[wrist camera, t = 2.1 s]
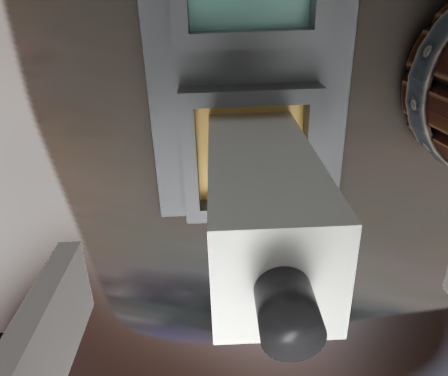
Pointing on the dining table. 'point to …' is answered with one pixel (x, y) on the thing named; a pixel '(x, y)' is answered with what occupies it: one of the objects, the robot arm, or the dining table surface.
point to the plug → (276, 238)
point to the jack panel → (241, 80)
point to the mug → (429, 88)
